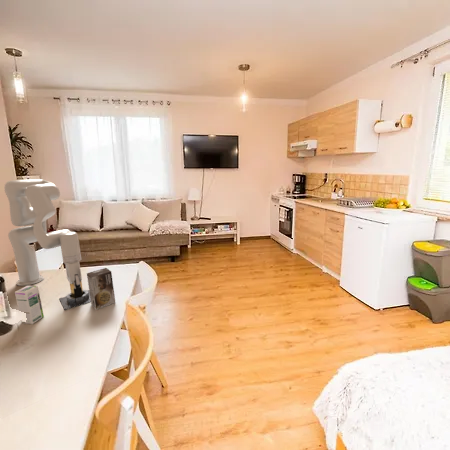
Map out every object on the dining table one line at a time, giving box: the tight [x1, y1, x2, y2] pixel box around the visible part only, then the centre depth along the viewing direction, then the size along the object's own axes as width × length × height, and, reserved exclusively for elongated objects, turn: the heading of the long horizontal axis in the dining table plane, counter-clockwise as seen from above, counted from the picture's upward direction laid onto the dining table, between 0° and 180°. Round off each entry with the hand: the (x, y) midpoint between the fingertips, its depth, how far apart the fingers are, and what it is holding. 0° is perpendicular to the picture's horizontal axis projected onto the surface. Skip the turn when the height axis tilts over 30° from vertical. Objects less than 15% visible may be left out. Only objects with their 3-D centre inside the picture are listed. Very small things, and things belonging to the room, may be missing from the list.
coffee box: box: [86, 267, 116, 311], centre depth 125 cm, size 9×6×16 cm
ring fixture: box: [59, 289, 91, 311], centre depth 132 cm, size 14×14×3 cm
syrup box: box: [14, 285, 45, 325], centre depth 113 cm, size 6×6×14 cm
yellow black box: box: [69, 281, 84, 298], centre depth 131 cm, size 5×5×8 cm
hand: (77, 293), depth 131 cm, fingers closed on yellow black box, 5 cm apart
